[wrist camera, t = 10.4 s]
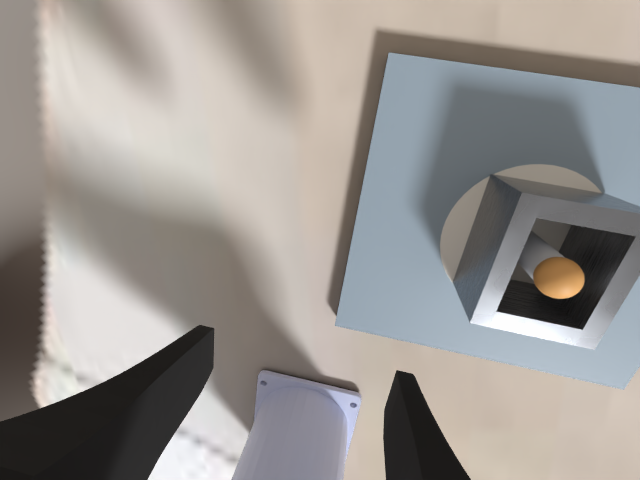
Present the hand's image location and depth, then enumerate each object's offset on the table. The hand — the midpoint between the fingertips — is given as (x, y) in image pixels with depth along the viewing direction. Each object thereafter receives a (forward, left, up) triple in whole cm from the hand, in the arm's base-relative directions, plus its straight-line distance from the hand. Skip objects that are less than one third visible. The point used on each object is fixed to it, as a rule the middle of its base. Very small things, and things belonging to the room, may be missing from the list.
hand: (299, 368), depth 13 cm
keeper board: (+4, -10, -9) cm, 14 cm away
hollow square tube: (+4, -10, -8) cm, 14 cm away
